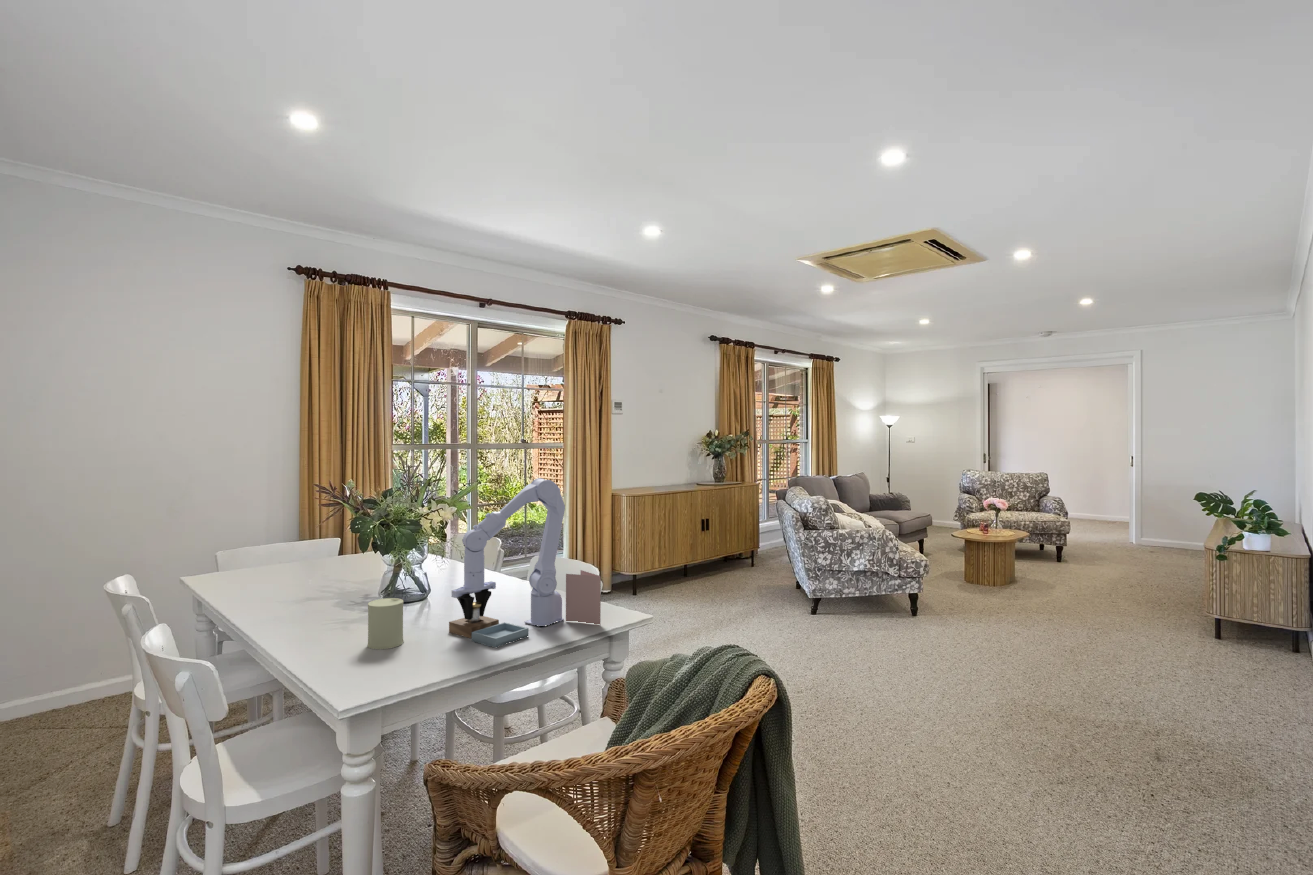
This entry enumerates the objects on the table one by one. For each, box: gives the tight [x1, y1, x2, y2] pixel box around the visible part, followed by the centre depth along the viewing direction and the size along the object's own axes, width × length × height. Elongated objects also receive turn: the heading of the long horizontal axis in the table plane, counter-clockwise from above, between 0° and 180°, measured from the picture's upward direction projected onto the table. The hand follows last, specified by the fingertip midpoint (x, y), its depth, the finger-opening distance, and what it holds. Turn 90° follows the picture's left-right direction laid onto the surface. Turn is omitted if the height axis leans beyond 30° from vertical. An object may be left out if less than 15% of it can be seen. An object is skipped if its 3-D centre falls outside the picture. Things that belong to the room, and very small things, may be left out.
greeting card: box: [565, 569, 602, 625], centre depth 200 cm, size 11×7×15 cm, turn 38°
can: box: [367, 597, 405, 650], centre depth 179 cm, size 9×9×12 cm
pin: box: [468, 601, 481, 624], centre depth 191 cm, size 4×4×8 cm
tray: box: [471, 622, 530, 648], centre depth 184 cm, size 12×10×2 cm
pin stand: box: [448, 615, 500, 639], centre depth 191 cm, size 10×10×3 cm
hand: (474, 617), depth 191 cm, fingers closed on pin, 4 cm apart
